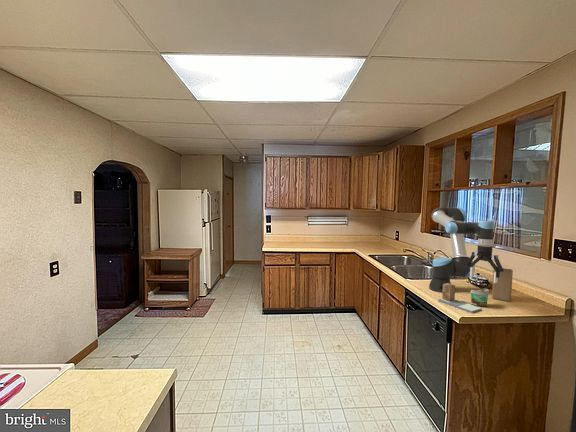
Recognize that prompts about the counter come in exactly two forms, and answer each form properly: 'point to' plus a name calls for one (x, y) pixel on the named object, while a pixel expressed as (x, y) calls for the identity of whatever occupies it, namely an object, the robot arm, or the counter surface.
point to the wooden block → (503, 286)
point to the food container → (479, 297)
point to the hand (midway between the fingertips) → (483, 279)
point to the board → (461, 305)
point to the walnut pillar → (448, 292)
